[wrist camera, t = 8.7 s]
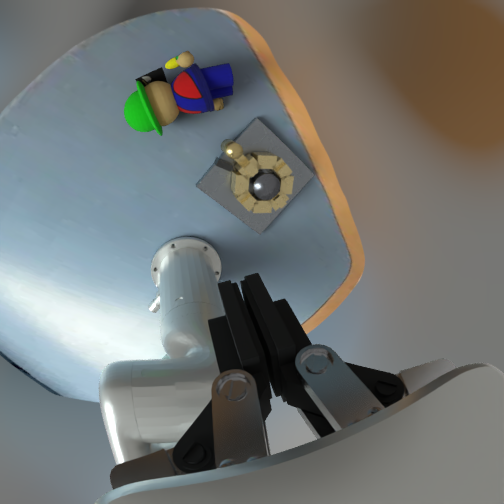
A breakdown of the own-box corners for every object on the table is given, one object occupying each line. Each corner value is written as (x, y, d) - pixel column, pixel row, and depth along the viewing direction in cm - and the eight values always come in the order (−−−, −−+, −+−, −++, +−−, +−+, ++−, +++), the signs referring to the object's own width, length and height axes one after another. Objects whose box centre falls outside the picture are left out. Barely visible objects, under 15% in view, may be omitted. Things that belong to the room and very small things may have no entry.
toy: (214, 26, 27) (102, 72, 26) (242, 65, 26) (115, 119, 26) (220, 78, 39) (132, 117, 38) (243, 117, 38) (147, 160, 37)
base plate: (257, 231, 51) (267, 246, 46) (192, 182, 43) (195, 193, 39) (311, 173, 48) (327, 182, 43) (252, 115, 40) (263, 117, 36)
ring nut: (296, 180, 46) (309, 189, 42) (256, 216, 48) (265, 229, 43) (245, 121, 39) (254, 123, 35) (200, 161, 41) (204, 169, 36)
